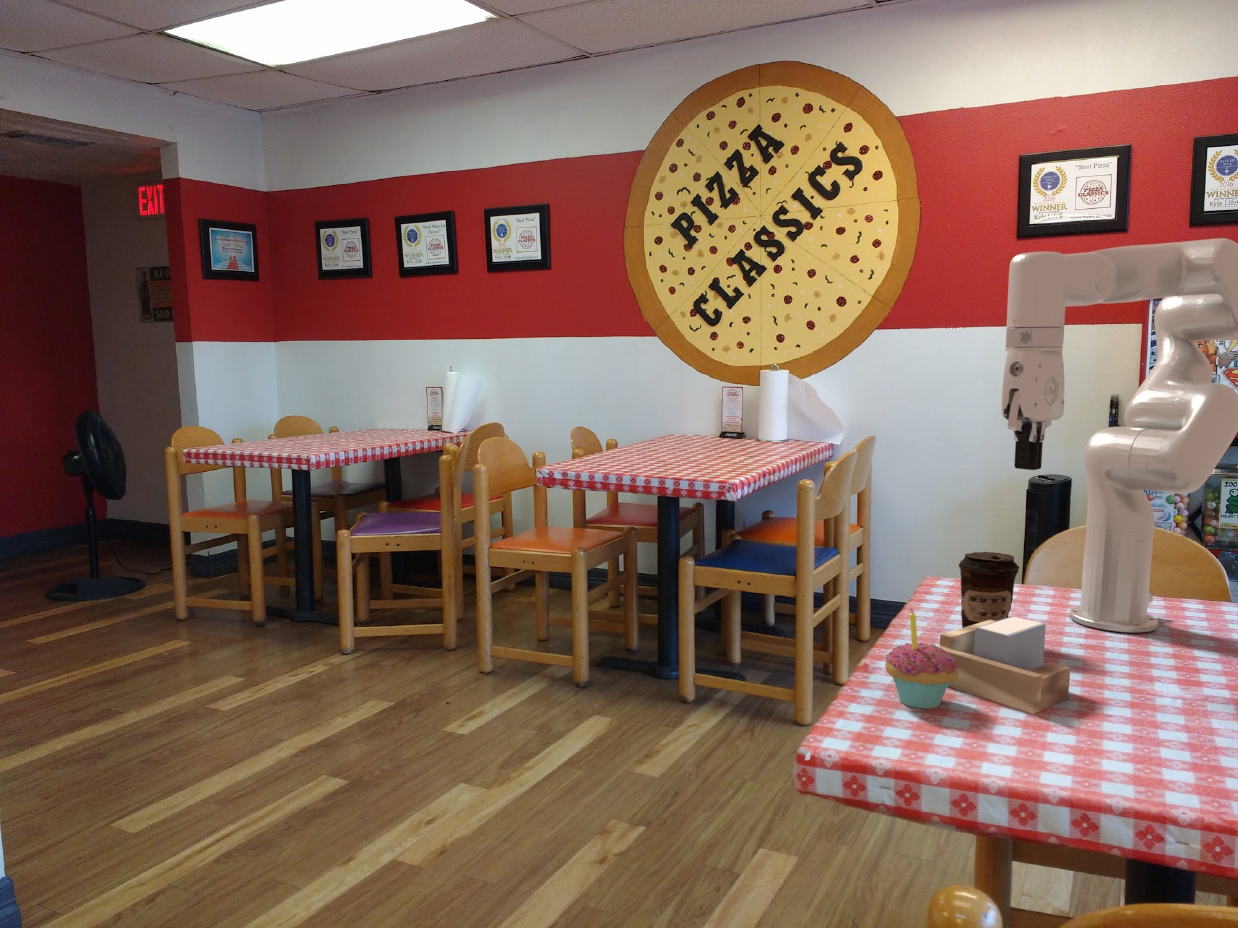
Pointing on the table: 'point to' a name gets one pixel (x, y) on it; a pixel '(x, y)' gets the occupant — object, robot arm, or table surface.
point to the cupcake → (920, 671)
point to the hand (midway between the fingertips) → (1027, 468)
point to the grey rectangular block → (1011, 642)
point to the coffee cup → (986, 586)
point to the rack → (1004, 676)
